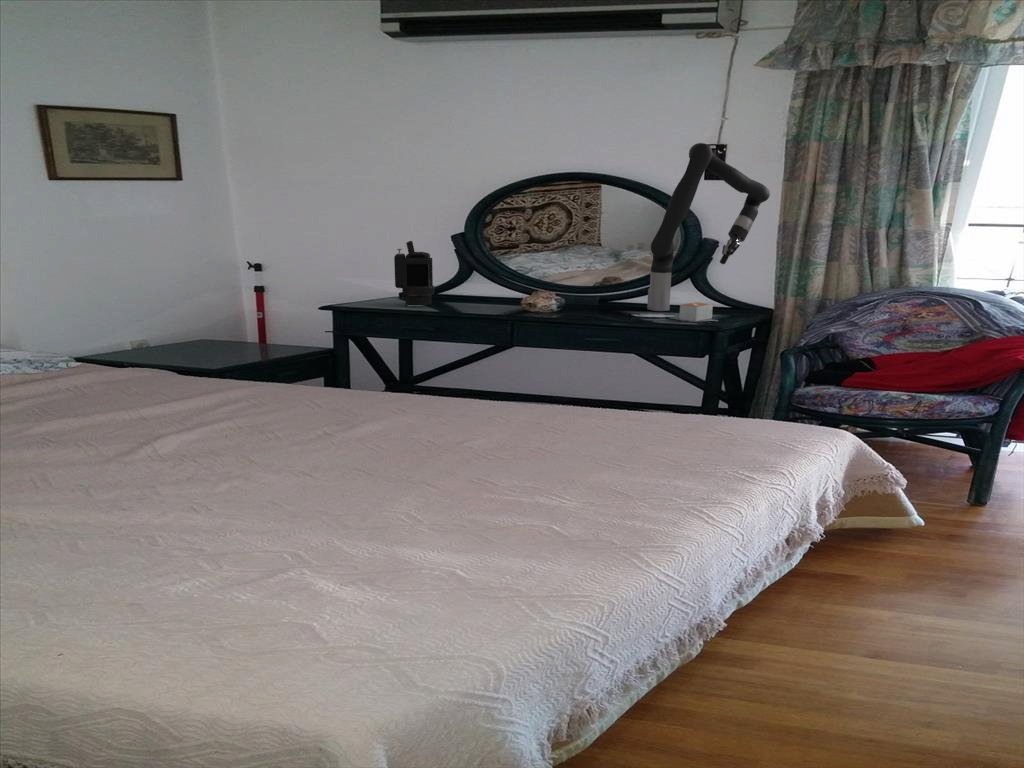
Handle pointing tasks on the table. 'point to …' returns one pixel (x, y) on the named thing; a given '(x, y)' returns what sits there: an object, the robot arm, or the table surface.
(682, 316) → the small box
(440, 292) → the table surface
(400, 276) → the black boxy device
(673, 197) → the robot arm
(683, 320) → the mat
